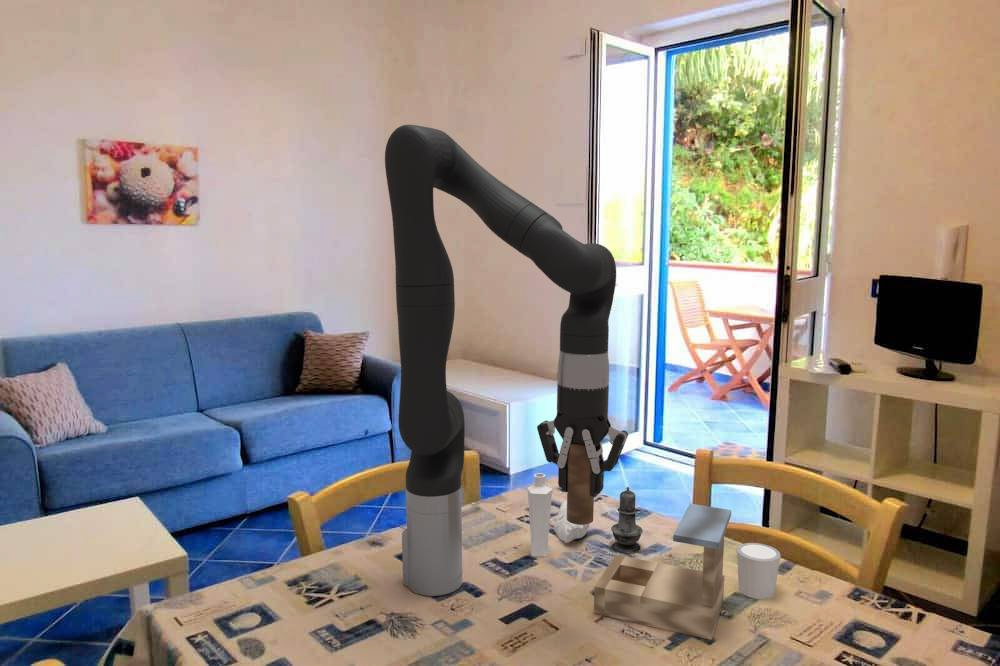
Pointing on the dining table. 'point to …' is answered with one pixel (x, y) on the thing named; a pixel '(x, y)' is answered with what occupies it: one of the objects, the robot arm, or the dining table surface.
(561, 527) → the bust
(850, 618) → the dining table surface
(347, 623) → the dining table surface
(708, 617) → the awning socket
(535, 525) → the perfume bottle
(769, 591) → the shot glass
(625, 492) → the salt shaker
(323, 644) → the dining table surface
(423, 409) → the robot arm
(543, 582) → the dining table surface
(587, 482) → the peg
